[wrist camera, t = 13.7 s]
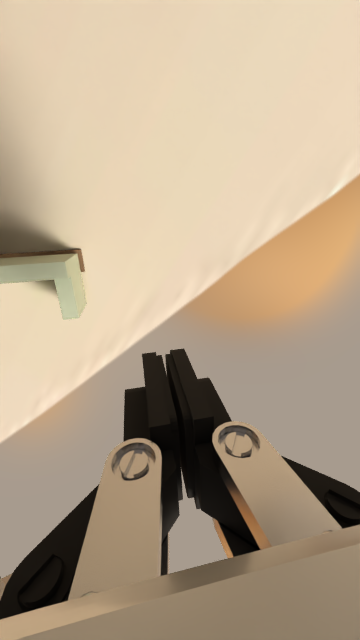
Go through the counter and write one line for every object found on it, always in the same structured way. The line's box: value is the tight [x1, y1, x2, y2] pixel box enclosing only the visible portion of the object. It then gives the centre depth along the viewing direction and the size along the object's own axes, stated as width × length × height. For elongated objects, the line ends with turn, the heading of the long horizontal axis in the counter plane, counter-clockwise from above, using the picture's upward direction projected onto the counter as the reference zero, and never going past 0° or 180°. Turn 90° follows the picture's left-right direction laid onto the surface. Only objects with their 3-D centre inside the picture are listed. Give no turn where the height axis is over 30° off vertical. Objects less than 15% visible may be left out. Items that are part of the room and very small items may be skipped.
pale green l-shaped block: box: [0, 253, 87, 320], centre depth 17 cm, size 8×4×4 cm, turn 92°
